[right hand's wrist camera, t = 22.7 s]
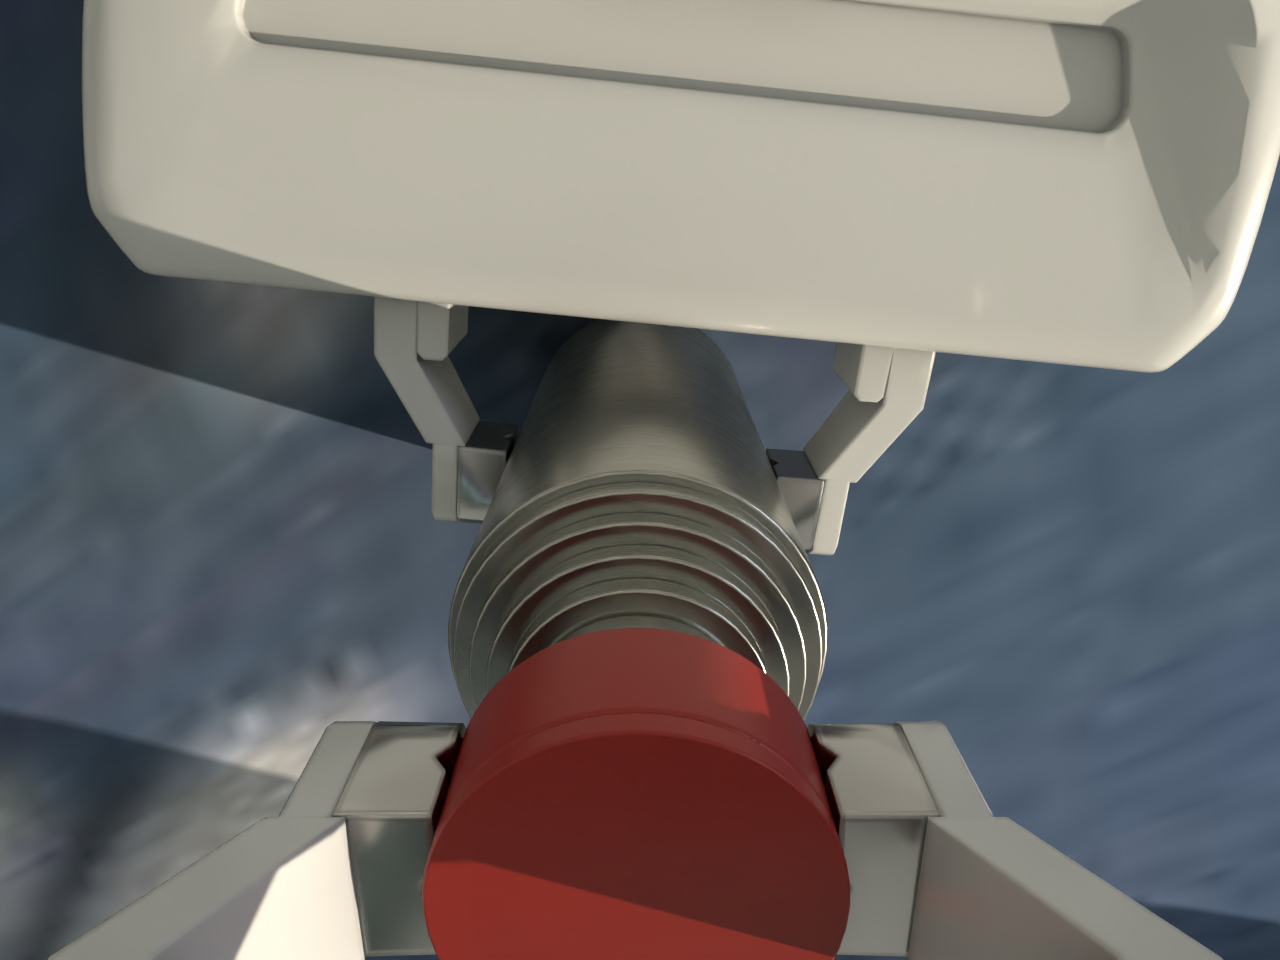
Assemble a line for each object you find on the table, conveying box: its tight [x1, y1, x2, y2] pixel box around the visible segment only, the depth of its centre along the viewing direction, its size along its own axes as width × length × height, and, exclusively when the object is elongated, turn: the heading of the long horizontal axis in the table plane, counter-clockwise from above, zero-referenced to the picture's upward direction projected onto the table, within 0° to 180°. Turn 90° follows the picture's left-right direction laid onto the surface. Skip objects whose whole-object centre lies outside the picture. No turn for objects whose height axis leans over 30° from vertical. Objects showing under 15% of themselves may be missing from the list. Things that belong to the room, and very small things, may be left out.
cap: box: [422, 628, 850, 960], centre depth 9 cm, size 4×4×2 cm
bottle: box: [448, 319, 827, 721], centre depth 17 cm, size 6×6×16 cm
